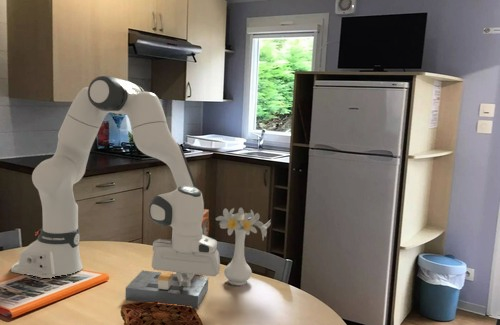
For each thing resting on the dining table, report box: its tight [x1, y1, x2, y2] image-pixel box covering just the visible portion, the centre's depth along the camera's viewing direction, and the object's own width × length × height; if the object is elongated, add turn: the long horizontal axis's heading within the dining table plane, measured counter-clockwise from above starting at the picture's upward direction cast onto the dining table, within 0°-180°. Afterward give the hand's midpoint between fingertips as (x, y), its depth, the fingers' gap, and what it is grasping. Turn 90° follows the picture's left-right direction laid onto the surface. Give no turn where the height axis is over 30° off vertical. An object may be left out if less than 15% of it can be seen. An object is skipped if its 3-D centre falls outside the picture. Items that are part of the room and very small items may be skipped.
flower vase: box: [215, 207, 272, 286], centre depth 156 cm, size 13×18×25 cm
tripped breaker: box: [158, 271, 174, 290], centre depth 141 cm, size 3×4×4 cm
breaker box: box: [125, 270, 209, 310], centre depth 144 cm, size 22×14×8 cm, turn 83°
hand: (184, 286), depth 140 cm, fingers closed
